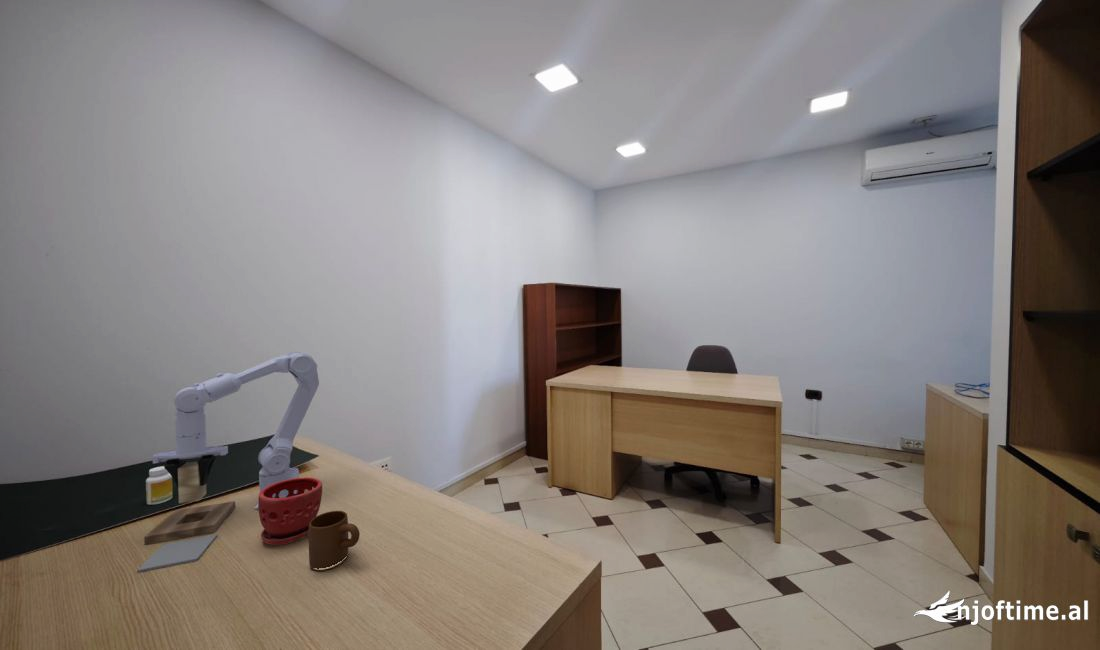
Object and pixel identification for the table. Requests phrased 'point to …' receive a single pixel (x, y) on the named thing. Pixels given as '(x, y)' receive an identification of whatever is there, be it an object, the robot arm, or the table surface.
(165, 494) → the supplement bottle
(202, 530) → the brown square hole board
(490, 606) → the table surface
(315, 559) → the mug
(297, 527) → the plant pot
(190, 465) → the maple plug
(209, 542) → the pad
